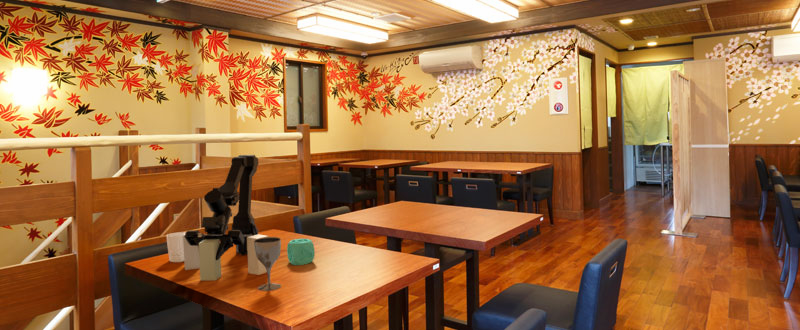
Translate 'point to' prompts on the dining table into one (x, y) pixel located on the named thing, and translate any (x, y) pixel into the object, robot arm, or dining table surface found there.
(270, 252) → the wine glass
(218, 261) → the sage block
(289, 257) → the decorative dice
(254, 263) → the cream block
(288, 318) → the dining table surface
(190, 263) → the pale pink tall block
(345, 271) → the dining table surface
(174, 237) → the white cup
